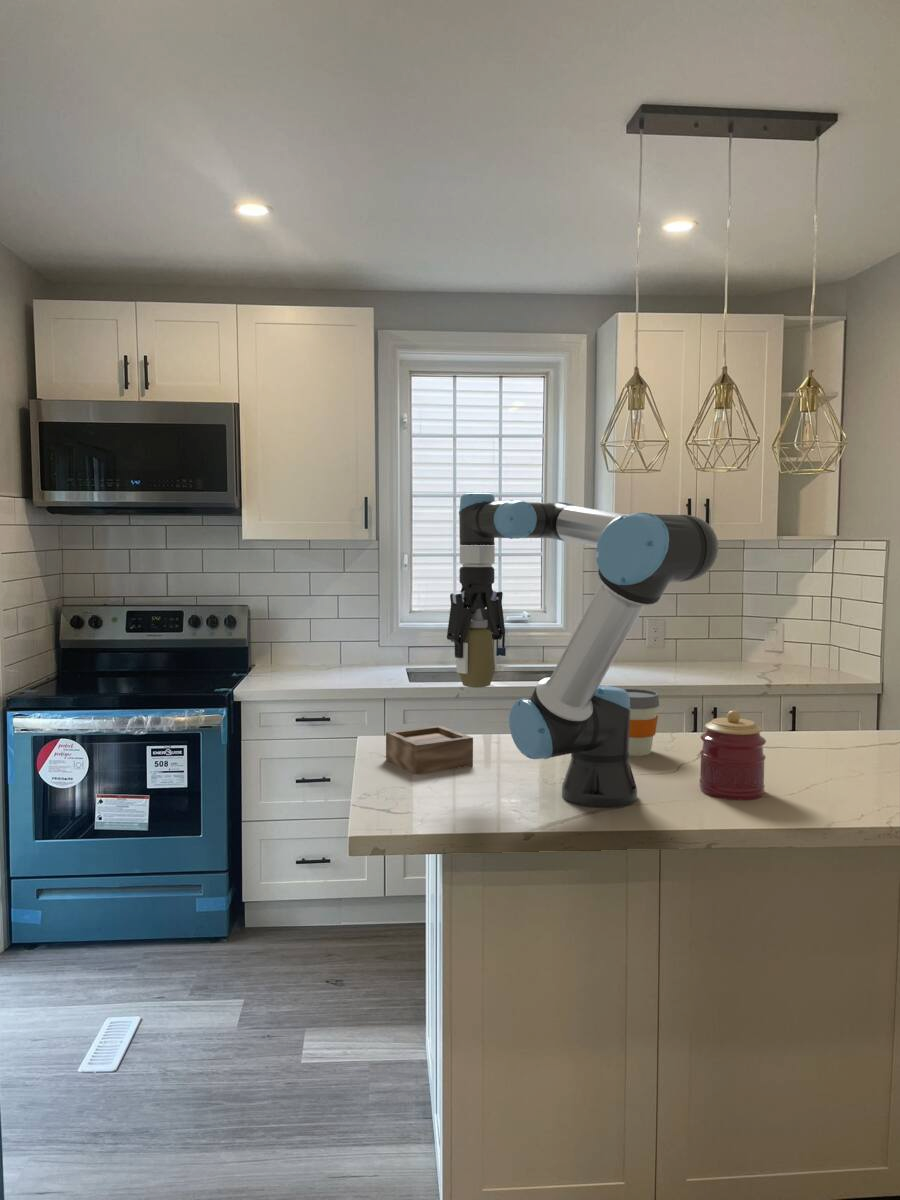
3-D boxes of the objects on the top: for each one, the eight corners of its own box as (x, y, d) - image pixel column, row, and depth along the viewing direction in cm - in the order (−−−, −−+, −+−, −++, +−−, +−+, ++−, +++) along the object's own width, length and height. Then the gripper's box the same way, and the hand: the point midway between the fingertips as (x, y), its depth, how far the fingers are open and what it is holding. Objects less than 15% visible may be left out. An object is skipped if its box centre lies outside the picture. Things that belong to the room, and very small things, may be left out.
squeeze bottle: (495, 689, 185) (496, 604, 184) (457, 688, 185) (457, 604, 184) (494, 682, 193) (494, 601, 192) (458, 682, 193) (458, 601, 192)
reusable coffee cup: (595, 751, 218) (596, 691, 217) (630, 744, 225) (631, 686, 224) (633, 761, 208) (635, 699, 207) (668, 754, 215) (670, 694, 214)
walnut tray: (472, 768, 203) (473, 737, 202) (416, 777, 195) (416, 745, 195) (440, 754, 216) (440, 725, 215) (386, 762, 208) (386, 732, 207)
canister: (775, 794, 182) (777, 710, 181) (746, 807, 173) (749, 719, 172) (717, 781, 191) (719, 702, 190) (687, 794, 182) (689, 710, 181)
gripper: (498, 564, 197) (497, 664, 199) (428, 566, 183) (429, 673, 184) (522, 565, 191) (522, 667, 193) (453, 567, 177) (453, 678, 179)
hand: (476, 670), depth 189 cm, fingers closed on squeeze bottle, 8 cm apart
